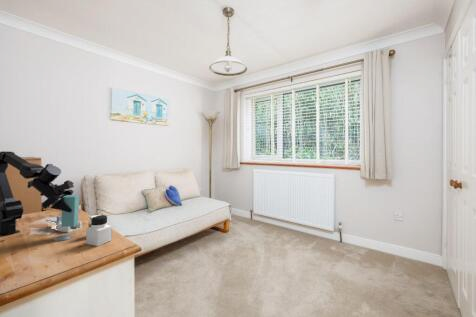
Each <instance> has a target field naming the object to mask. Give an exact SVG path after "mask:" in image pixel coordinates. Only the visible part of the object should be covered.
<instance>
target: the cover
mask: <svg viewBox="0 0 476 317" xmlns="http://www.w3.org/2000/svg"><path fill="white" fill-rule="evenodd" d="M48 221H52V222H55V223H61V222H62V214H61V215H58V216H55V217H51V218H48V219H45V222H48Z"/></svg>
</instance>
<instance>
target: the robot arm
mask: <svg viewBox="0 0 476 317" xmlns="http://www.w3.org/2000/svg"><path fill="white" fill-rule="evenodd" d="M9 165H10V166H11V167H13V168H15V169H17V170H18V171H19V174H20V176H22V177H23V178H24V179H25V180H27V179H28V180H29V181H28V182H27V189H30V188H34V189H35V190H37V191H38V192H39V193H40V194H39V196H41V197H43V196H44V197H45V198H46V200H44V201H43V202H42V203H41V208H43V209H44V210H46V209H49V208H50V209H54V210H59V211H61V212H62V211H66V212H72V210H71V209H70V207H69V206H68V205H67V204H66V203H65V202H64V196H66V195H74V193H75V191H74V190H72V189H73V188H74V182H73V181H71V180H66V181H64V182H63V183H62V184H54V183H53V182H54V181H55V180H56V179H57V178H58V177H59V176H60V175H61V174H62V170H61V168H59V167H58V166H56V165H53V163H47V164H46V165H45V166H43V165H41V164H37V163H31V162H29V161H27V160H26V159H24V158H22V157H21V156H19V155H17V154H15V152H14V151H0V237H5V236H9V235H12V234H16V233H20V232H21V231H20V230H18V229H17V220H20V219H22V217H23V214H24V206H23V205H22V200H19V199H18V200H17V199H15V198H14V195H13V191H12V189H11V184H10V182H9V179H8V176H7V173H6V171H7V169H8V166H9ZM30 179H32V180H30ZM62 197H63V198H62Z"/></svg>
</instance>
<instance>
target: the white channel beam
mask: <svg viewBox="0 0 476 317" xmlns="http://www.w3.org/2000/svg"><path fill="white" fill-rule="evenodd" d="M56 225H57V226H56V229H57V230H56V231H57V232H63V233H68V234H69V233H72V232H75V231H77V230H78V231H79V230H81V229H83V221H79V220H78V224H76V225H75V226H70V227H61V223H56Z"/></svg>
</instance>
